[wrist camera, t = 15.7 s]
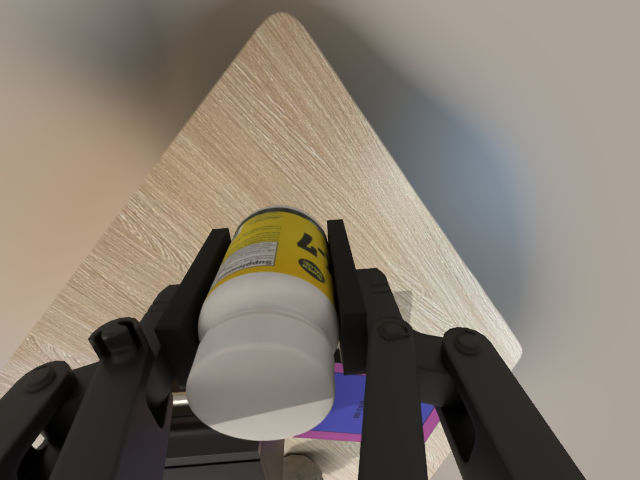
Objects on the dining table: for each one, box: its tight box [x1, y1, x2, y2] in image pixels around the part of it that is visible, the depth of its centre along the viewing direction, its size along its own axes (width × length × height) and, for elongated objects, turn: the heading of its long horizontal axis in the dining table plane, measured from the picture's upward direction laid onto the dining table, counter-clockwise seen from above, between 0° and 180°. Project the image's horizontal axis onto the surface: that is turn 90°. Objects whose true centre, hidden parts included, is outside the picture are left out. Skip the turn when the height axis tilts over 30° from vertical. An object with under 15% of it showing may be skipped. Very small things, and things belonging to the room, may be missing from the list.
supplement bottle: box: [186, 205, 340, 441], centre depth 12 cm, size 5×5×8 cm
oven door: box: [164, 379, 262, 467], centre depth 41 cm, size 5×24×18 cm, turn 93°
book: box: [293, 349, 440, 443], centre depth 57 cm, size 21×3×30 cm
